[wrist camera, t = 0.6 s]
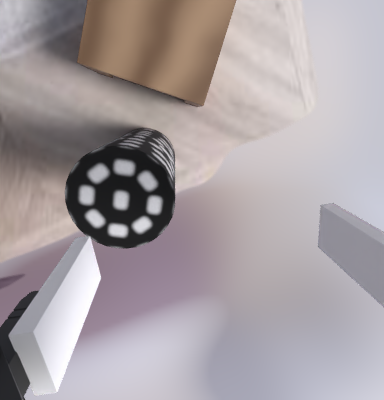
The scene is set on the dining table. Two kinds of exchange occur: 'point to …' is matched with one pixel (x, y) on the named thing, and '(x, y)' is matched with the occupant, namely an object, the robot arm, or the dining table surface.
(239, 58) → the dining table surface
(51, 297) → the robot arm
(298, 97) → the dining table surface
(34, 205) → the dining table surface
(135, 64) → the wooden bridge block
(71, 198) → the spotted tube
